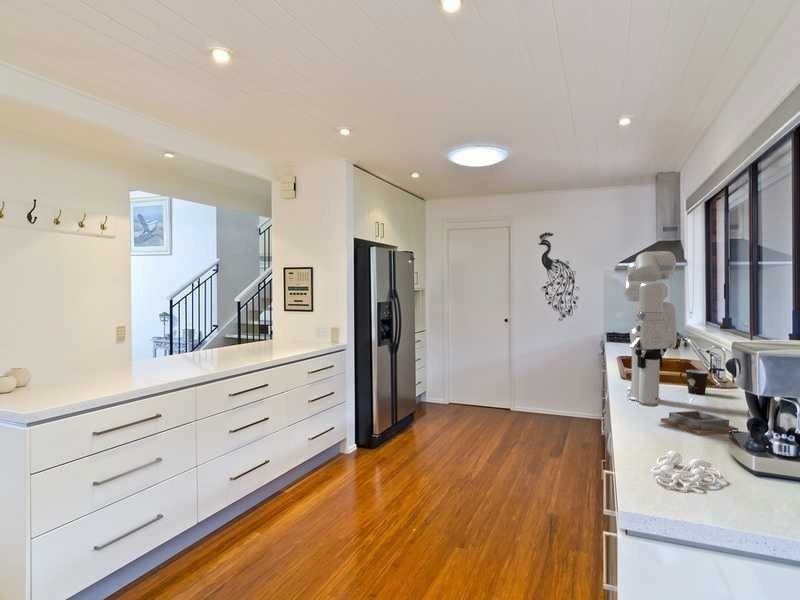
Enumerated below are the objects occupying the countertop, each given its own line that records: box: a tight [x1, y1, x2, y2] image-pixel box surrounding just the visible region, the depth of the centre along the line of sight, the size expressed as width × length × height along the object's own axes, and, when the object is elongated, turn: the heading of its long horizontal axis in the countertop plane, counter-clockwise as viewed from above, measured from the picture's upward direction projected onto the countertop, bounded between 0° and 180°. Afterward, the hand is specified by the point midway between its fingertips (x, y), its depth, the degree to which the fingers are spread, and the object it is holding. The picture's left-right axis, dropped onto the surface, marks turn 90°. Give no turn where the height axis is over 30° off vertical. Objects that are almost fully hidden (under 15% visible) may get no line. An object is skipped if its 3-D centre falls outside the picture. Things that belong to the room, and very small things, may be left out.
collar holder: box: [660, 409, 739, 436], centre depth 162 cm, size 16×16×4 cm
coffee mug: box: [679, 369, 709, 396], centre depth 215 cm, size 12×9×10 cm
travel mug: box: [638, 349, 661, 408], centre depth 167 cm, size 6×7×20 cm
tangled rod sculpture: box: [650, 450, 722, 492], centre depth 118 cm, size 19×14×4 cm
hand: (649, 366), depth 167 cm, fingers closed on travel mug, 6 cm apart
